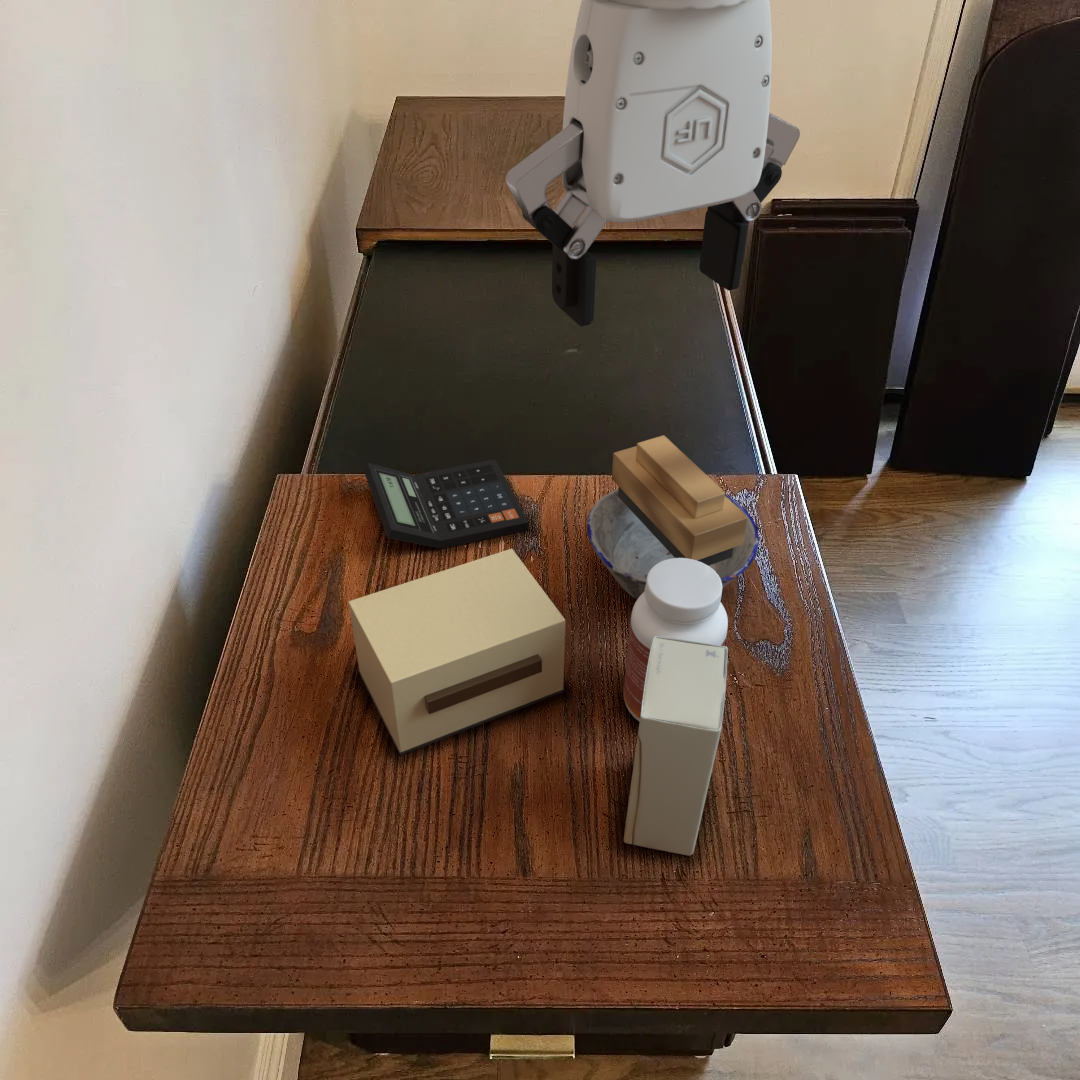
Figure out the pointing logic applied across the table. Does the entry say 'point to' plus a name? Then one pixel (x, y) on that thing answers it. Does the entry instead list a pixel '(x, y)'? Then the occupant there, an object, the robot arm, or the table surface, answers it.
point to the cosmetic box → (676, 743)
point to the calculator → (445, 504)
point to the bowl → (650, 545)
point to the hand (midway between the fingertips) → (648, 297)
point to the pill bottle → (672, 617)
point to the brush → (678, 501)
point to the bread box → (458, 649)
